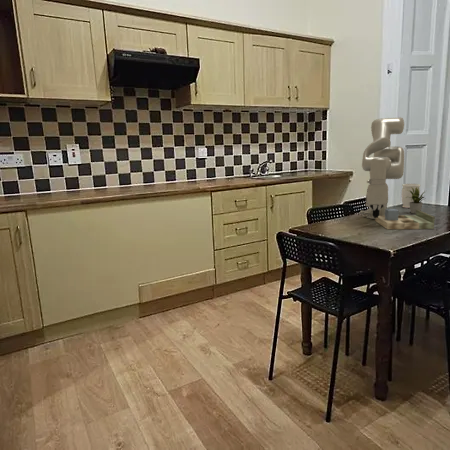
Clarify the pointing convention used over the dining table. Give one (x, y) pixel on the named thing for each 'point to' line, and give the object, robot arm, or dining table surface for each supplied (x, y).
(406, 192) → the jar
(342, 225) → the dining table surface
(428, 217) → the board
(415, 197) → the house plant
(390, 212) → the block
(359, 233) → the dining table surface
